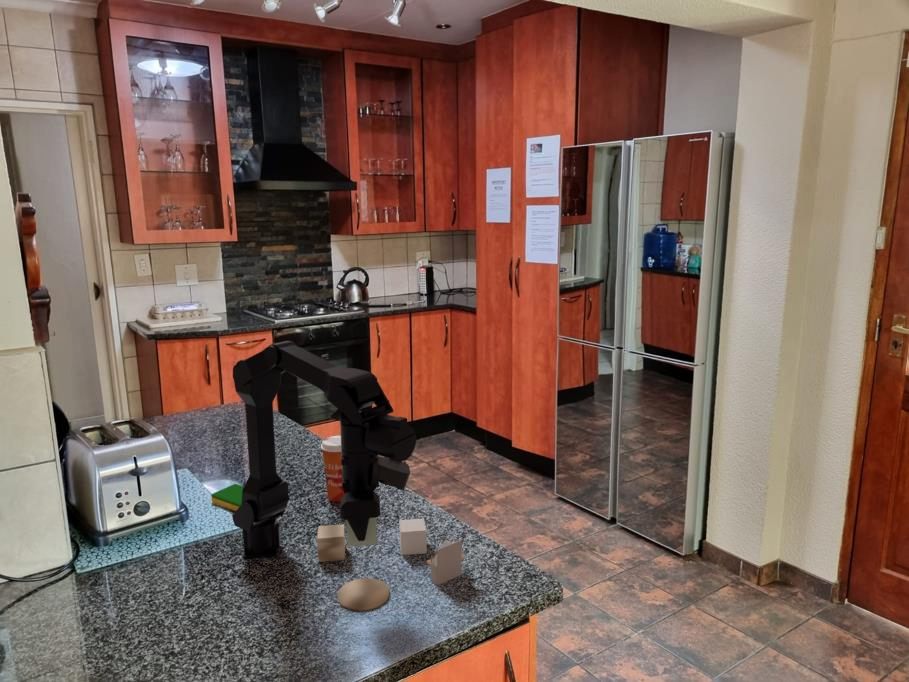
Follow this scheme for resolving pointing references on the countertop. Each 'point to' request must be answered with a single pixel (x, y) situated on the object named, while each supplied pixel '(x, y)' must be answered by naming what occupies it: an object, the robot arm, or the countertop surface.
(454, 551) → the architectural model
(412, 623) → the countertop surface
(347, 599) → the coaster
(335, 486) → the paper cup
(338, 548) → the maple block
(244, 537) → the robot arm
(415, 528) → the offwhite block
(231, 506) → the dish sponge
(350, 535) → the sage block
